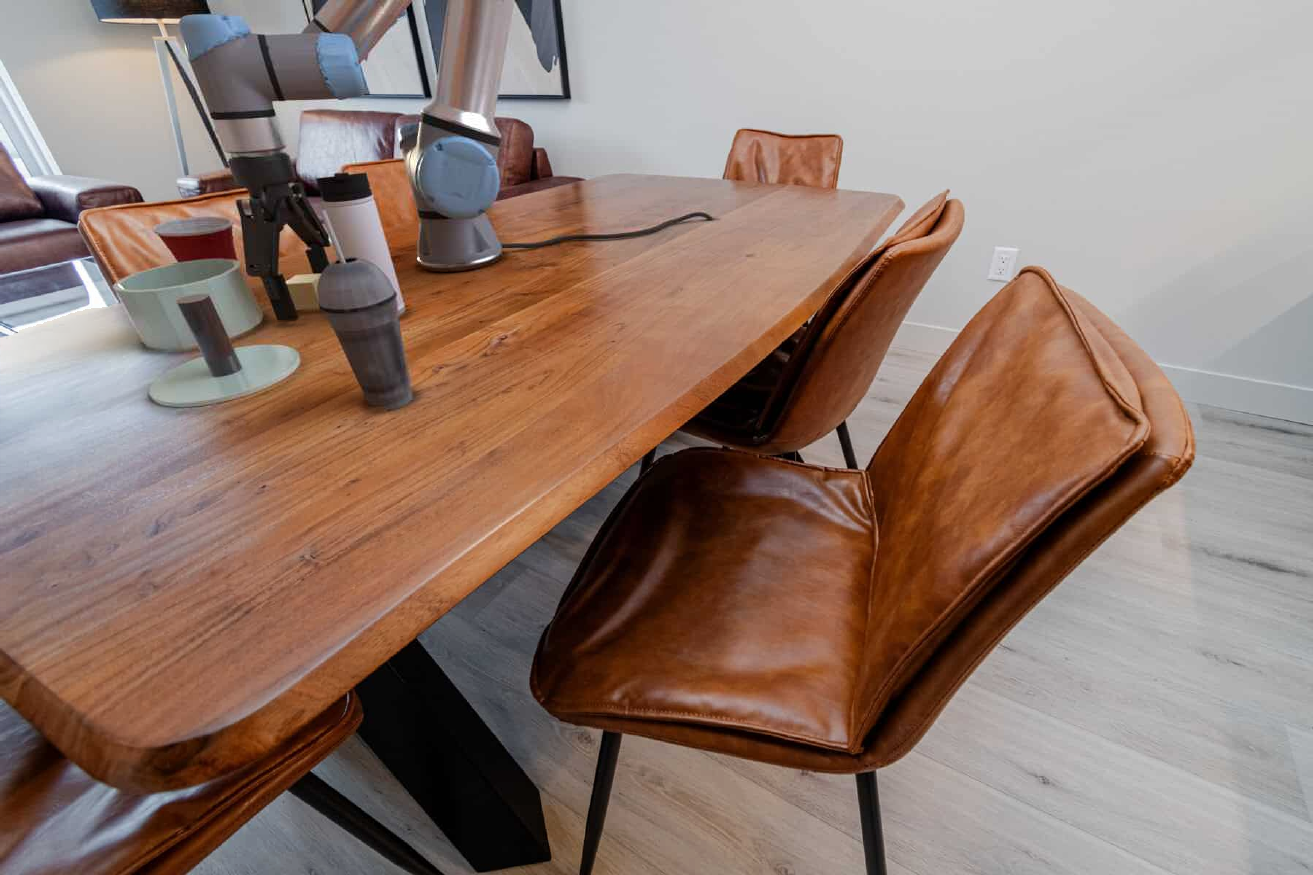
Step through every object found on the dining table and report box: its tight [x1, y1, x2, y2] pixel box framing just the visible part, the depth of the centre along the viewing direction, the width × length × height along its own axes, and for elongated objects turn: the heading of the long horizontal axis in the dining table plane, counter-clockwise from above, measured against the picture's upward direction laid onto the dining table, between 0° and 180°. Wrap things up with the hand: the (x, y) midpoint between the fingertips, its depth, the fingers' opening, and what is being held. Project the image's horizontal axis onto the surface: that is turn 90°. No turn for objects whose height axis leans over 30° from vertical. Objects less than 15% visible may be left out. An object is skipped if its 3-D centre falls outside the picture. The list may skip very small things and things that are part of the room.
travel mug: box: [315, 171, 406, 316], centre depth 83 cm, size 6×7×20 cm
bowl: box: [112, 258, 264, 351], centre depth 84 cm, size 15×15×8 cm
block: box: [285, 273, 322, 311], centre depth 92 cm, size 5×5×5 cm
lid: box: [148, 294, 302, 408], centre depth 70 cm, size 16×16×10 cm
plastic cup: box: [151, 215, 238, 263], centre depth 98 cm, size 11×11×12 cm
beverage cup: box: [317, 209, 414, 411], centre depth 61 cm, size 7×7×20 cm
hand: (309, 303), depth 93 cm, fingers open, 13 cm apart
